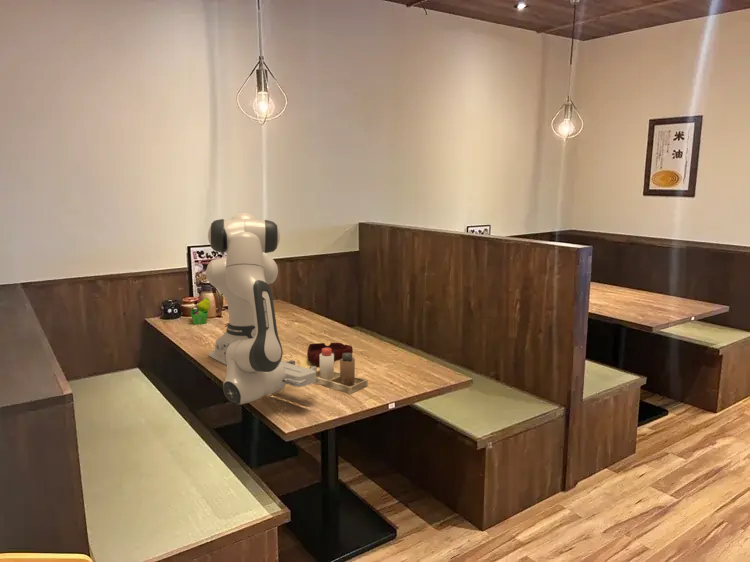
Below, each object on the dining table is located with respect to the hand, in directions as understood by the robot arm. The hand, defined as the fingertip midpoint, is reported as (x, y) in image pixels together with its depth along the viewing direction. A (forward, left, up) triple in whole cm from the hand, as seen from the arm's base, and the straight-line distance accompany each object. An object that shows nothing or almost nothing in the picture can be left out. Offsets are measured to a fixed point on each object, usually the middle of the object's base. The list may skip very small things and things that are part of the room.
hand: (304, 365), depth 185 cm
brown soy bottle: (+9, +11, -8) cm, 16 cm away
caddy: (+4, +11, -9) cm, 15 cm away
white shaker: (0, +11, -8) cm, 14 cm away
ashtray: (-17, +29, -10) cm, 35 cm away
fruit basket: (-99, +34, -9) cm, 105 cm away
